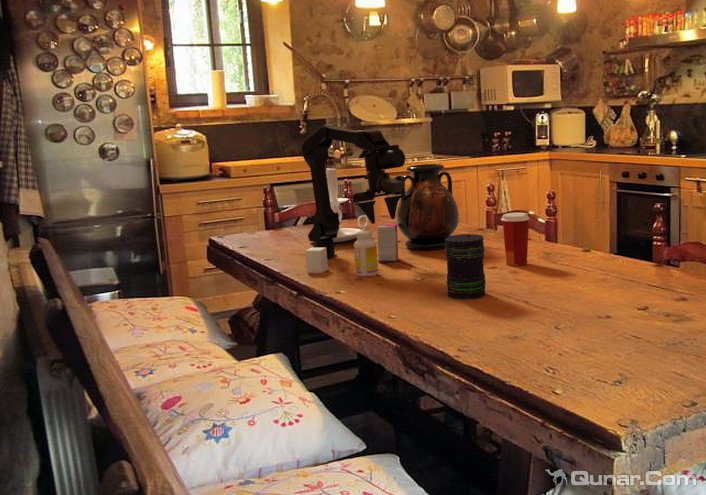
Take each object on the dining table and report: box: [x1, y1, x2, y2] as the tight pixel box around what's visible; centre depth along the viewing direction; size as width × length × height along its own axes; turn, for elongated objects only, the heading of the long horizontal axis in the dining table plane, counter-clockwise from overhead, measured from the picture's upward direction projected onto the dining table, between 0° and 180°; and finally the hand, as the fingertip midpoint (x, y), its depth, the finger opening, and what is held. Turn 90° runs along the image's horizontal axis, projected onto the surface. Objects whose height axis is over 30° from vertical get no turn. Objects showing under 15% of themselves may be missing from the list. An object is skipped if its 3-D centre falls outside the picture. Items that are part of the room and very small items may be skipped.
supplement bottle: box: [353, 230, 379, 278], centre depth 226 cm, size 7×7×13 cm
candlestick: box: [325, 167, 370, 243], centre depth 286 cm, size 21×25×28 cm
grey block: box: [304, 247, 329, 274], centre depth 236 cm, size 5×5×7 cm
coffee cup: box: [500, 212, 530, 267], centre depth 226 cm, size 8×8×15 cm
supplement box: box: [376, 224, 399, 264], centre depth 244 cm, size 6×6×12 cm
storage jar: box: [444, 233, 486, 301], centre depth 194 cm, size 10×10×15 cm
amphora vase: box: [396, 163, 460, 251], centre depth 262 cm, size 22×22×28 cm
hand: (383, 221), depth 235 cm, fingers open, 9 cm apart
